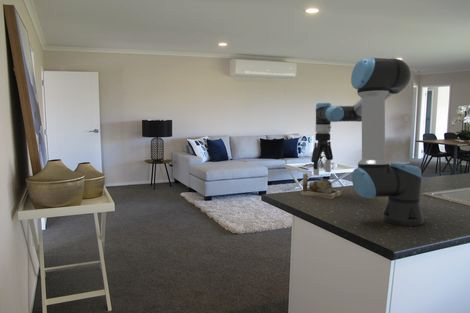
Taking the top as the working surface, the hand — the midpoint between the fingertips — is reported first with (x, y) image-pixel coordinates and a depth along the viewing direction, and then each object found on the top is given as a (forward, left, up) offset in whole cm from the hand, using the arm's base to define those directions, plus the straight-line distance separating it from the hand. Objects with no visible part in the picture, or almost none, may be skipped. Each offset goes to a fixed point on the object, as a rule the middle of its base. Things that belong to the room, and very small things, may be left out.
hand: (322, 173), depth 197 cm
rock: (0, 0, -12) cm, 12 cm away
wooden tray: (0, 0, -11) cm, 11 cm away
